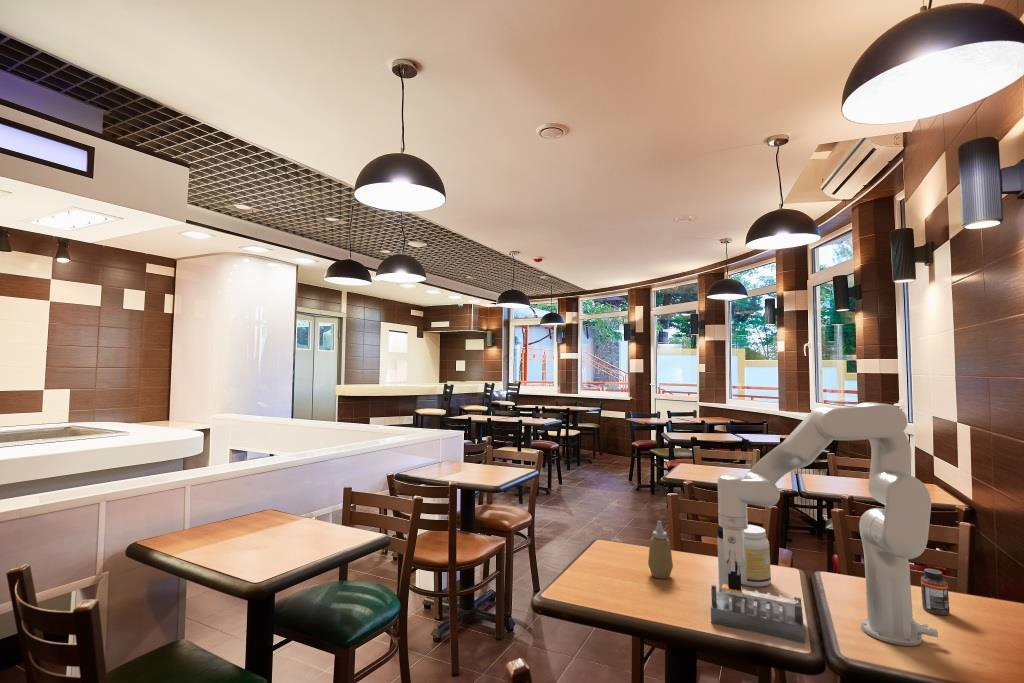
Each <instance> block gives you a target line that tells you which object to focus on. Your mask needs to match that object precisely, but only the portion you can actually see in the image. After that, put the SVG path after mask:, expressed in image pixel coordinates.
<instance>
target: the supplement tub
mask: <svg viewBox="0 0 1024 683" xmlns="http://www.w3.org/2000/svg"><path fill="white" fill-rule="evenodd" d="M744 534H745V554H746V560H745V565H744V567H741V566H740V573H741V585H744V586H746V587H747V586H748V587H755V588H761V587H767V586H768V585H770V584H771V581H772V575H771V574H772V573H771V556H770V554H771V552H770V541H769V540H768V538H767V534H766V529H765V528H763V527H762V526H758V525H754V524H748V528H747V529H745V530H744Z"/></svg>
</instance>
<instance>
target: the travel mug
mask: <svg viewBox="0 0 1024 683" xmlns="http://www.w3.org/2000/svg"><path fill="white" fill-rule="evenodd" d="M716 532H717V565H718V566H717V567H718V568H717V569H718V592H722V585H723V584H727V585H728V564H725V559H724V540H723V527H721V526H719V527H717V530H716Z"/></svg>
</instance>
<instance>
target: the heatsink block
mask: <svg viewBox="0 0 1024 683" xmlns="http://www.w3.org/2000/svg"><path fill="white" fill-rule="evenodd" d="M742 590H747V591H748V589H747V588H744V587H742ZM754 592H757V593H759V590H754ZM710 593H711V595H710V596H711V606H710V623H711V624H715V625H719V626H725V627H728V628H732V629H736V630H737V629H738V630H742V631H746V632H752V633H756V634H761V635H766V636H771V637H774V638H779V639H784V640H788V641H794V642H798V643H802V644H805V643H806V642H805V625H804V614H803V606H802V598H801V597H796V596H794V597H793V599H794V600H797V599H798V600H800V604H801V605H796V604H795V607H791V606H786V605H781V604H776V603H771V602H766V601H761V600H756V599H751V598H746V597H741V596H736V595H731V594H726V593H722V592H720V591H717V585H716V584H711V592H710ZM766 594H768V595H771V592H767V593H766ZM778 597H783V594H778Z"/></svg>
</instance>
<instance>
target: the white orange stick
mask: <svg viewBox="0 0 1024 683" xmlns="http://www.w3.org/2000/svg"><path fill="white" fill-rule="evenodd" d="M722 593H726V594H731V595H736V596H741V597H746V598H751V599H756V600H761V601H766V602H771V603H776V604H781V605H786V606H791V607H795V604H796V605H801V606H802V603H801V604H800V600H798V599H797V600H794V598H788V597H783V596H782V597H779V595H778V596H777V595H773V594H772V595H771V594H770V595H768V594H767V593H763V592H762V593H761V592H758V593H757V592H755V591H753V590H752V591H751V590H748V589H747V590H743V587H742V586H741V590H737V589H731V588H729V587H728V585H727V584H723V585H722Z"/></svg>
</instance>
